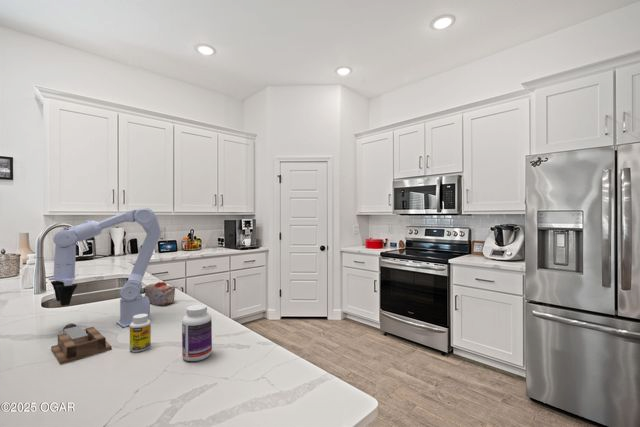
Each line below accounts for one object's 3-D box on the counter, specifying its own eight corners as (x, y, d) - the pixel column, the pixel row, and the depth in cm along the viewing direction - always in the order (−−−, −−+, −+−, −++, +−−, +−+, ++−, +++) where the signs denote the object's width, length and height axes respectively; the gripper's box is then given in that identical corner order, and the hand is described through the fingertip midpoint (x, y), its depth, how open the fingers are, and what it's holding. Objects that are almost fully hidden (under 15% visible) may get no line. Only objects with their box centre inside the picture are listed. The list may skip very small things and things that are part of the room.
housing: (51, 349, 92) (51, 336, 92) (98, 337, 101) (98, 325, 101) (60, 364, 83) (60, 350, 83) (111, 349, 92) (111, 336, 92)
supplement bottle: (129, 354, 89) (129, 320, 89) (129, 347, 93) (129, 314, 93) (151, 349, 92) (151, 316, 92) (150, 343, 96) (150, 311, 96)
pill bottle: (217, 352, 90) (217, 304, 90) (198, 365, 83) (198, 313, 83) (195, 348, 93) (195, 301, 93) (175, 360, 85) (175, 309, 85)
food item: (178, 302, 140) (178, 281, 140) (163, 307, 133) (163, 285, 132) (156, 299, 145) (156, 279, 145) (141, 304, 138) (141, 282, 137)
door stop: (62, 335, 101) (62, 325, 101) (77, 332, 104) (77, 321, 104) (72, 349, 91) (72, 337, 91) (88, 344, 94) (88, 333, 94)
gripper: (46, 262, 107) (43, 300, 107) (53, 268, 98) (51, 309, 98) (71, 260, 113) (69, 297, 112) (80, 266, 103) (78, 305, 103)
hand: (62, 302), depth 105 cm, fingers open, 7 cm apart
